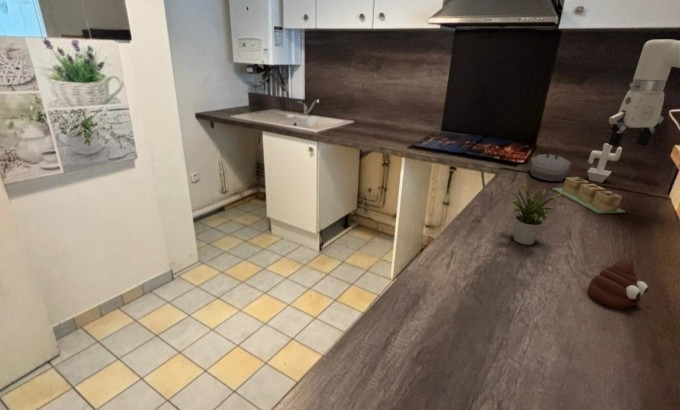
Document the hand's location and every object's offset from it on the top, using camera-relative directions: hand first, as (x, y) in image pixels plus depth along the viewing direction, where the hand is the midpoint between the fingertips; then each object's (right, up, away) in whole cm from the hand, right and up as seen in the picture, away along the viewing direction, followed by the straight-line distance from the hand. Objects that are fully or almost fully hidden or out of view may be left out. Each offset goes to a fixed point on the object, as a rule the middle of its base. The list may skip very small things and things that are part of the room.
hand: (627, 145), depth 109 cm
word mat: (-2, -16, +16) cm, 23 cm away
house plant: (-39, -28, -11) cm, 49 cm away
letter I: (-2, -17, +15) cm, 22 cm away
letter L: (-3, -14, +21) cm, 25 cm away
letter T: (-1, -19, +9) cm, 21 cm away
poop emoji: (-31, -38, -34) cm, 59 cm away
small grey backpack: (-1, -6, +40) cm, 41 cm away
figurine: (+16, -8, +36) cm, 41 cm away
